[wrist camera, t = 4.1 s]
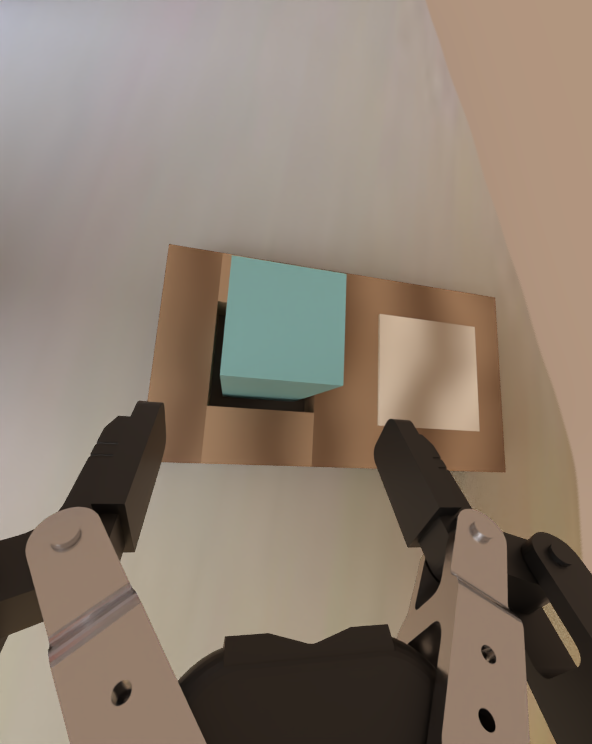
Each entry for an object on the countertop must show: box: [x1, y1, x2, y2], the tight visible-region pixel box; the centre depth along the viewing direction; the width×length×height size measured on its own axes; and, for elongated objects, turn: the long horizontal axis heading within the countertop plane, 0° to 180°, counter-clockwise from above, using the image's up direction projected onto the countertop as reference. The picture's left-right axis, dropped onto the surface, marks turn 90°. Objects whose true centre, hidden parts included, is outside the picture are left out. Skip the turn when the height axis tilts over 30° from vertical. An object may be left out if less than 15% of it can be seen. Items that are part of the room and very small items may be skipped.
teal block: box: [220, 255, 347, 402], centre depth 16 cm, size 4×4×9 cm
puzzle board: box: [148, 244, 505, 472], centre depth 20 cm, size 22×12×3 cm, turn 86°
